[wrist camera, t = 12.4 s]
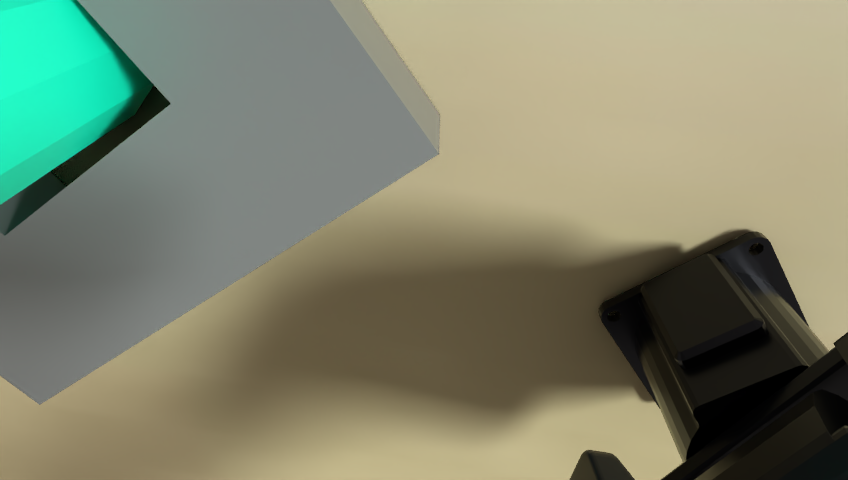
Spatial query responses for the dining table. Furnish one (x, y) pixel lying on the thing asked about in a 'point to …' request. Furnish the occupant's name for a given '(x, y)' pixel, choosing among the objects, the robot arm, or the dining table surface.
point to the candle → (57, 87)
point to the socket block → (204, 173)
